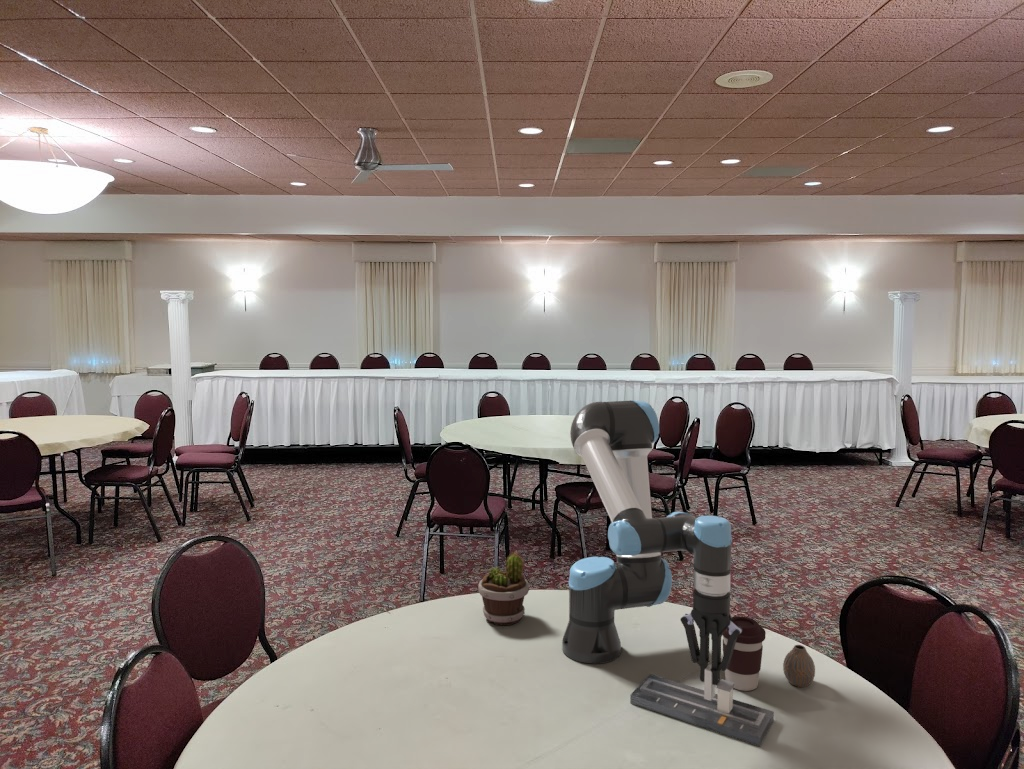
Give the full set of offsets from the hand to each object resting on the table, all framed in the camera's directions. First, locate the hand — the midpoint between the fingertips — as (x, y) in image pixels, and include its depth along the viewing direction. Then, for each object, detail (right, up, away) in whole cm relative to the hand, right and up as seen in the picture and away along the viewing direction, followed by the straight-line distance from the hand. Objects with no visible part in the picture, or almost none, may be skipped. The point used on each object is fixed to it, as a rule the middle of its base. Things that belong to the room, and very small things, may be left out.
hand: (709, 696), depth 145 cm
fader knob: (+3, -2, -1) cm, 4 cm away
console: (-2, -4, +2) cm, 5 cm away
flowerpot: (-45, -1, +50) cm, 67 cm away
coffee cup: (+11, -3, +13) cm, 18 cm away
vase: (+25, -3, +14) cm, 29 cm away
